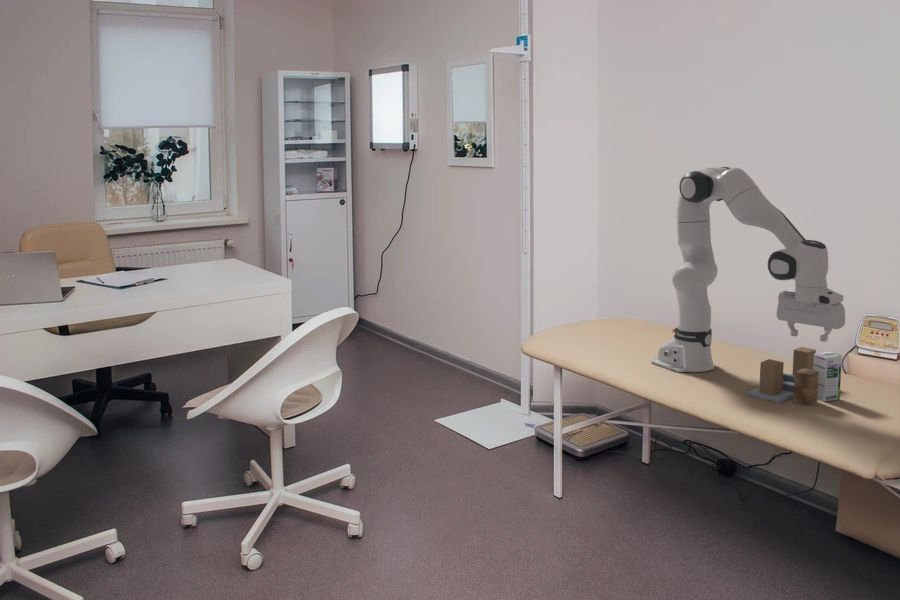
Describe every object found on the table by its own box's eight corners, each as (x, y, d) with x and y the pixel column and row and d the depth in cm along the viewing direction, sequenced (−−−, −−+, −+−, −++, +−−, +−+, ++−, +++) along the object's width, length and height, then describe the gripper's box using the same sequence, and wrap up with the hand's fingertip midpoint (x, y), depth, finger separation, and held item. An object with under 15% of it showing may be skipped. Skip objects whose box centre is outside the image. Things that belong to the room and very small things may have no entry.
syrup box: (824, 402, 257) (827, 357, 254) (811, 396, 263) (813, 352, 260) (840, 400, 259) (842, 355, 256) (826, 394, 264) (829, 350, 261)
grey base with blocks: (748, 394, 267) (749, 361, 264) (793, 375, 284) (795, 344, 281) (779, 402, 258) (781, 368, 256) (825, 382, 275) (827, 350, 273)
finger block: (793, 402, 259) (794, 371, 256) (801, 398, 262) (803, 368, 260) (808, 406, 255) (810, 374, 253) (817, 402, 258) (818, 371, 256)
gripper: (773, 291, 257) (771, 334, 260) (838, 300, 241) (836, 346, 244) (784, 288, 261) (782, 331, 264) (848, 296, 245) (846, 342, 248)
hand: (808, 338), depth 254 cm, fingers open, 8 cm apart
